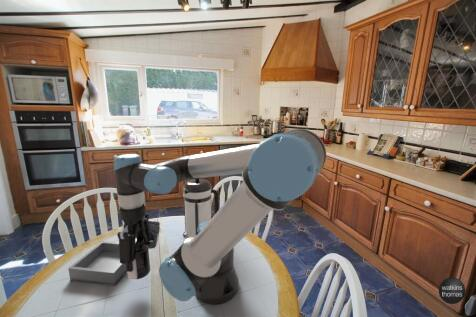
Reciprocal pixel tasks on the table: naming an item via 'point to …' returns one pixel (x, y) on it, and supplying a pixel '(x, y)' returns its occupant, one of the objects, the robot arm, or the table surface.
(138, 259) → the supplement bottle
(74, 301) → the table surface
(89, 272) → the bin
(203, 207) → the coffee press
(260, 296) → the table surface
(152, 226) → the dark slate chunk
